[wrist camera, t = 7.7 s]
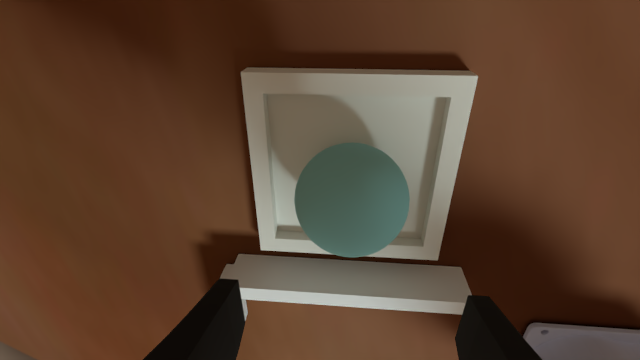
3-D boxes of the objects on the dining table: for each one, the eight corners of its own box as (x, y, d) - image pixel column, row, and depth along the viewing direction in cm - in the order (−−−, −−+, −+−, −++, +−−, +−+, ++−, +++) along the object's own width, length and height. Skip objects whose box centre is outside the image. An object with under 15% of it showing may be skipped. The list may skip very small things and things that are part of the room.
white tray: (470, 70, 16) (478, 75, 15) (433, 247, 22) (437, 260, 21) (247, 67, 17) (240, 72, 16) (265, 238, 22) (260, 250, 21)
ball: (405, 127, 18) (430, 177, 13) (394, 215, 20) (411, 285, 15) (299, 125, 18) (282, 174, 13) (302, 212, 21) (289, 280, 16)
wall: (460, 266, 22) (475, 303, 20) (444, 327, 25) (455, 366, 22) (224, 252, 23) (208, 285, 21) (235, 311, 26) (222, 347, 24)
